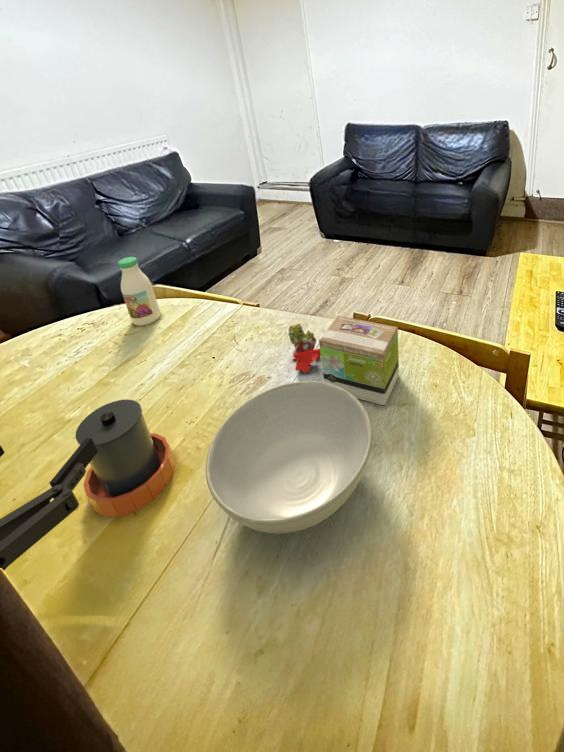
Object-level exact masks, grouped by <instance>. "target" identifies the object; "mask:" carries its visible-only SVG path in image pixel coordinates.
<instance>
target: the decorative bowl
mask: <svg viewBox="0 0 564 752" xmlns="http://www.w3.org/2000/svg"><path fill="white" fill-rule="evenodd" d="M372 445H373V427H372V422H371V419H370V416H369V414H368V412H367V410H366V408H365V406H364V405H363V403H361V401H360V399H358V398H356V397H355V396H353V395H352V394H351V393H349V392H348V391H346V390H345V389H343V388H341V387H338V386H336V385H333V384H329V383H325V382H324V381H316V380H302V381H293V382H287V383H284V384H279V385H277V386H274V387H271V388H269V389H266V390H264V391H262V392H259V393H258V394H256V395H255V396H252V397H251V398H250V399H248V400H246V401H245V402H244V403H242V404H241V405H240V406H239V407H237V408H236V409H235V410H234V411H233V412H232V413H231V414H230V415H229V416H228V417H227V418H226V419H225V420H224V422H223V423H222V424H221V425H220V427H219V429H218V430H217V431H216V434H215V435H214V437H213V439H212V441H211V443H210V446H209V449H208V451H207V456H206V460H205V478H206V484H207V487H208V490H209V492H210V494H211V496H212V498H213V500H214V501H215V502H216V504H217V505H218V506H219V508H221V510H223V512H225V514H227V515H228V516H229V517H230V518H231V519H233V520H235V521H236V522H237V523H239V524H241V525H243V526H244V527H247V528H249V529H252V530H255V531H258V532H262V533H268V534H290V533H296V532H300V531H303V530H307V529H309V528H312V527H314V526H316V525H318V524H319V523H321V522H323V521H324V520H326V519H328V518H329V517H330V516H332V515H333V514H334V513H335V512H337V511H338V510H339V509H340V508H341V507H342V506H343V505H344V504H345V503H346V502H347V500H348V499H349V498H350V497H351V495H352V494H353V492H354V491H355V489H356V488H357V486H358V485H359V483H360V481H361V479H362V477H363V475H364V473H365V471H366V468H367V465H368V462H369V459H370V455H371V451H372Z"/></svg>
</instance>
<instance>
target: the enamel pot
mask: <svg viewBox="0 0 564 752" xmlns="http://www.w3.org/2000/svg"><path fill="white" fill-rule="evenodd" d="M86 438H92V440H93V442H94V445H95V447H96V449H97V451H98V452H97V454H96V455H95V456H94V458H93V459H92V460H91V462H90V463H89V465H90V468H91V467H92V469H93V471H94V473H95V475H96V477H97V479H98V481H99V483H100V485H101V487H102V489H103V491H104V493H105V495H106V497H107V498H114V497H117V496H120V495H123V494H126V493H129V492H131V491H133V490H134V489H136V488H138V487H139V486H141V485H143V484H144V483H146V482H147V481H148V480H149V479H150V478H151V477H152V476H153V475H154V474H155V473H156V472H157V471H158V469H159V467H160V466H161V464H162V463H161V461H160V458H159V456H158V453H157V450H156V448H155V445H154V443H153V440H152V438H151V435H150V430H149V427H148V424H147V423H146V419H145V417H144V415H143V408H142V406H141V404H140V403H139V402H138V401H136V400H134V399H129V398H128V399H120V400H114V401H111V402H108V403H105V404H104V405H101V406H100V407H98V408H96V409H95V410H93V411H92V412H91V413H89V414H88V415H87V416H85V418H84V419H83V420H82V421H81V422H80V424H79V425H78V427H77V428H76V431H75V440H76V442H77V444H78V445H79V446H80V445H81V444H82V442H83V441H84V440H85V439H86Z"/></svg>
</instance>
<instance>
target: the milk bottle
mask: <svg viewBox="0 0 564 752" xmlns="http://www.w3.org/2000/svg"><path fill="white" fill-rule="evenodd" d="M117 264H118V268H119V270H120V271H121V280H120V291H121V294H122V297H123V298H122V299H123V301H124V303H125V306H126V309H127V311H128V312H127V313H128V314H129V317H130V321H131V323H132V324H133V325H135V326H146V325H150V324H152V323H154V322H156V321H157V320H158V319H159V318H160V317H161V310H160V307H159V304H158V301H157V298H156V294H155V291H154V289H153V288H154V287H153V285H152V283H151V281H150V279H149V277H148V276H147V275H146V274H145V273H144V272H143V271H142V269H140V267H139V262H138V259H137V257H135V256H128V257H124V258H121V259H120V260H119V261H118V262H117Z"/></svg>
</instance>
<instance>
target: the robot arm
mask: <svg viewBox="0 0 564 752" xmlns="http://www.w3.org/2000/svg"><path fill="white" fill-rule="evenodd" d="M97 452H98V451H97V449H96V447H95V445H94V442H93V440H92V438H86V439H85V440H84V441H83V442H82V444H81V445H79V446H78V447H77V448H76V450H75V451H74V452H73V453H72V454H71V455H70V457H69V458H68V459H67V461H66V462H65V463H64V464H63V465H62V467H61V468H60V469H59V470H58V472H56V474H55V475H54V477H52V479H51V480H50V481H49V485H50V488H49V489H46V490H45V491H44V492H42V493H40V494H39V495H37V496H35V497H34V498H31V500H29V501H27V502H25V503H24V504H22V505H20V506H19V507H18V508H16V509H14V510H12V511H11V512H10V513H7V514H6V515H4V516H3V517H1V518H0V568H2V569H3V570H4V572H5V571H6V570H7V568H8V567H9V566H11V565H12V564H13V563H14V562H15V561H17V560H18V559H19V558H20V557H21V556H22V555H24V554H25V553H26V552H27V551H28V550H30V549H31V548H32V547H33V546H34V545H36V544H37V543H38V542H39V541H40V540H41V539H42V538H44V537H45V536H46V535H48V534H49V533H50V532H51V531H52V530H53V529H54V528H56V527H57V526H58V525H59V524H60V523H62V522H63V521H64V520H65V519H66V518H68V517H69V516H70V515H71V514H72V513H73V512H74V511H76V510H77V509H78V508H79V506H80V502H79V501H78V499H77V497H76V495H75V493H74V490H75V489H76V487H77V486H78V484H79V483H80V482H81V480H82V479H83V477H85V476H86V474H87V469H86V468H87V467H88V466H89V465H90V462H91V460H92V459H93V458H94V456H95V455H96V454H97ZM5 453H6V452H5V450H4V449H3V447H2V446H1V444H0V458H2V456H4V454H5Z"/></svg>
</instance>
